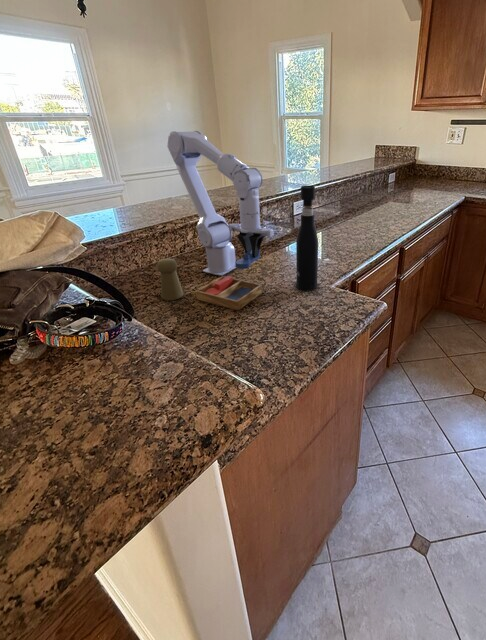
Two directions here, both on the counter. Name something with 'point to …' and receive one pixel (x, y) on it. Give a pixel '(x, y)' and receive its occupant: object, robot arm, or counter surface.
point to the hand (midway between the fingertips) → (252, 256)
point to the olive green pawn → (169, 280)
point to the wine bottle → (307, 244)
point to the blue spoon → (246, 260)
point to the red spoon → (221, 285)
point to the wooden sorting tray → (231, 294)
